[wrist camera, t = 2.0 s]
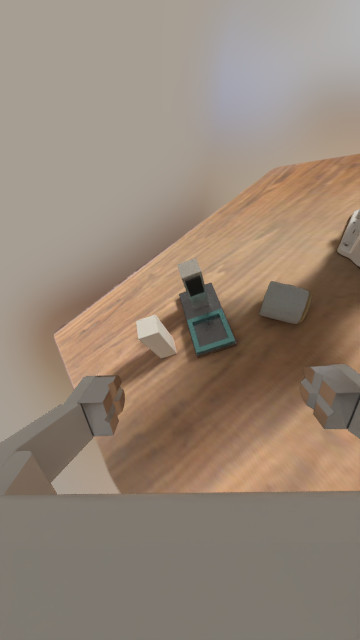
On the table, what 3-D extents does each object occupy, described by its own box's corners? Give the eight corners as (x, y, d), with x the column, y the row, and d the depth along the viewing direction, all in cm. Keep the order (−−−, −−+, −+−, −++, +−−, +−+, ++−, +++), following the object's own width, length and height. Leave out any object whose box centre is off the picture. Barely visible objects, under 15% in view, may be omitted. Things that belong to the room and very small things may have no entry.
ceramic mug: (298, 331, 39) (310, 312, 33) (257, 321, 43) (260, 302, 36) (307, 292, 43) (320, 268, 37) (269, 285, 47) (274, 262, 40)
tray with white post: (180, 297, 52) (164, 261, 41) (211, 286, 51) (203, 245, 40) (197, 357, 42) (182, 332, 31) (236, 345, 41) (235, 315, 30)
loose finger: (158, 342, 47) (136, 319, 37) (173, 337, 47) (155, 312, 37) (161, 358, 45) (138, 339, 35) (176, 353, 44) (158, 332, 34)
